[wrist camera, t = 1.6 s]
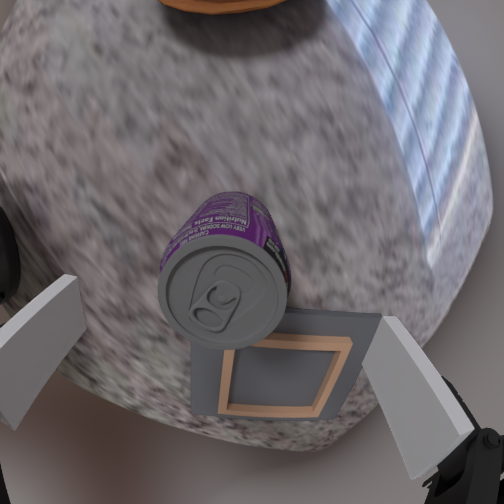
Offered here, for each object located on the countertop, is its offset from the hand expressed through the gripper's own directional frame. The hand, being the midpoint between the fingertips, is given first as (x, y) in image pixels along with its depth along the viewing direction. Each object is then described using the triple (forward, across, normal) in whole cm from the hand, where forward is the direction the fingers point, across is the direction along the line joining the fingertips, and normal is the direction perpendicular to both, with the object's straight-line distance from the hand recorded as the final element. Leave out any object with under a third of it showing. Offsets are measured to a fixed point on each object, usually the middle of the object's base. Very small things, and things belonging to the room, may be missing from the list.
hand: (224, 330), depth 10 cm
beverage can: (+14, 0, 0) cm, 15 cm away
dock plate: (+14, +6, -16) cm, 22 cm away
